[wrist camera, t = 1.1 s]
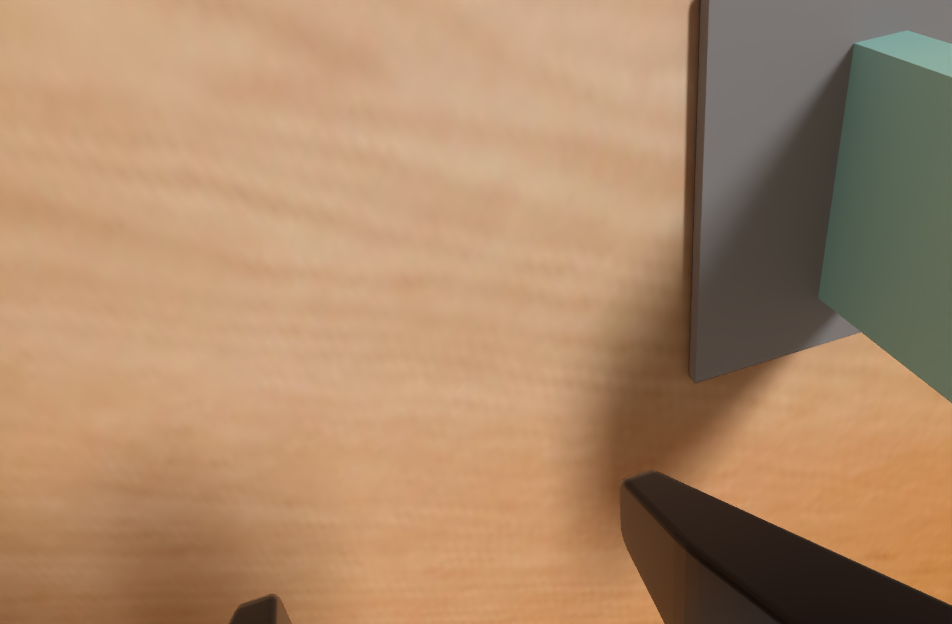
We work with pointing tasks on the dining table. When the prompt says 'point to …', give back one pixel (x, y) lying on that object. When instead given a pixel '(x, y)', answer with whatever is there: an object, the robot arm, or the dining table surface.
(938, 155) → the teal board
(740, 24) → the mat
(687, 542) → the robot arm
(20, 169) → the dining table surface
